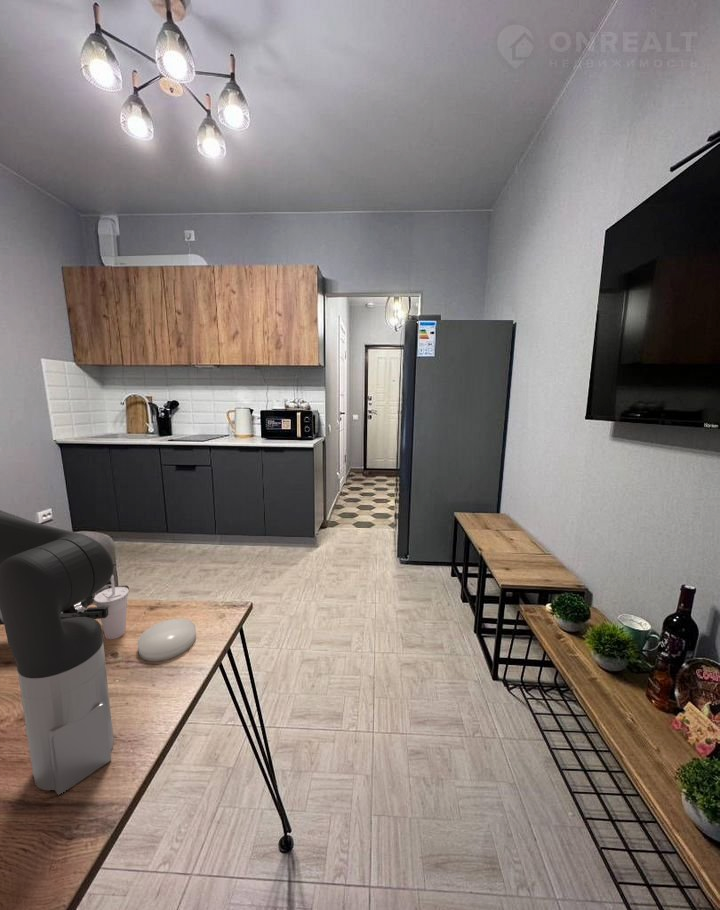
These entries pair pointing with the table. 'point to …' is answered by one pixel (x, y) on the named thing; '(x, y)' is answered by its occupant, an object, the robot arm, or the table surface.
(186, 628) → the trivet
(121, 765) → the table surface
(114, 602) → the smoothie
